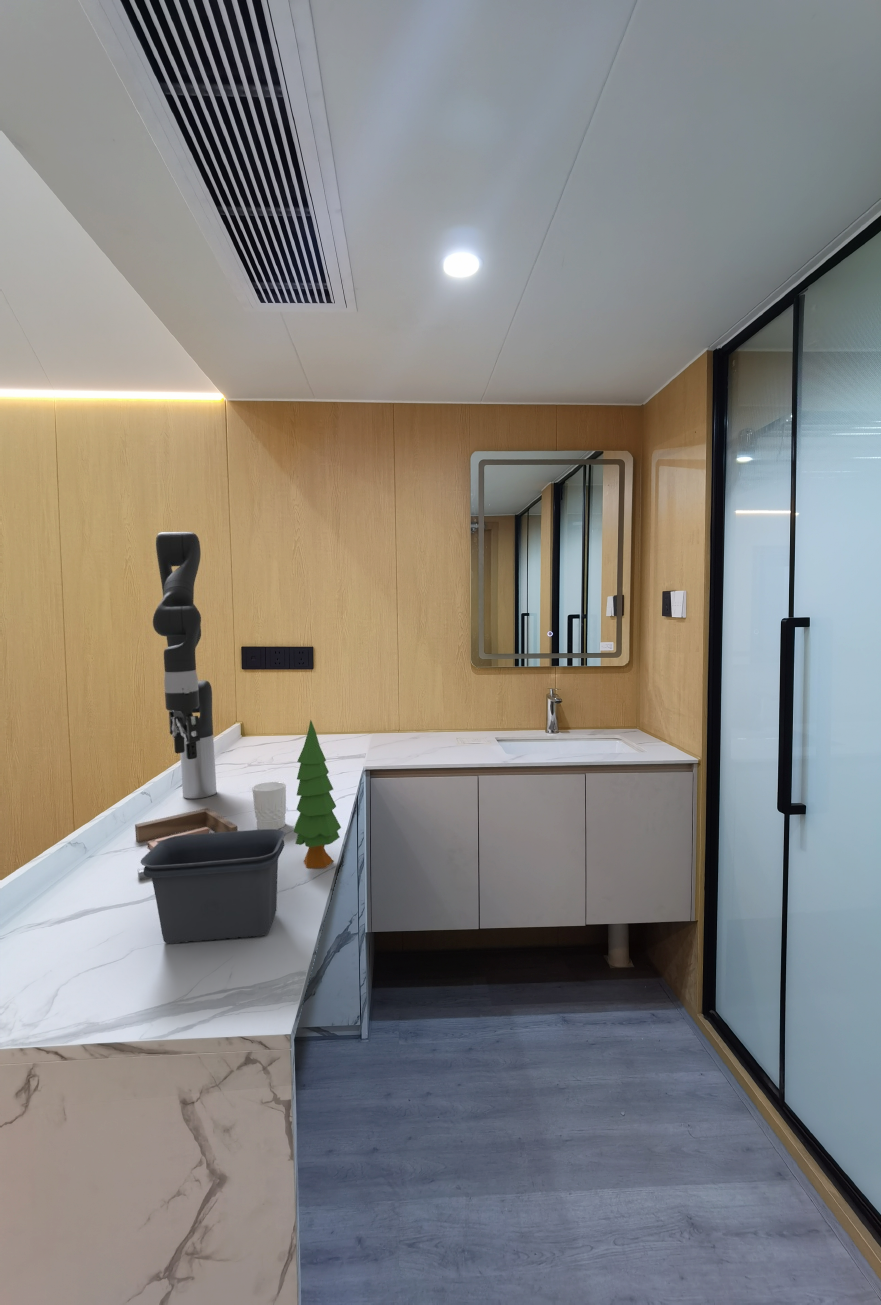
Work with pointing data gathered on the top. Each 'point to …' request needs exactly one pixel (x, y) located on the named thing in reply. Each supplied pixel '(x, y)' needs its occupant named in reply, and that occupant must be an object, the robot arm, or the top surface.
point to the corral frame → (198, 831)
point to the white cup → (270, 805)
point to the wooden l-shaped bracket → (183, 824)
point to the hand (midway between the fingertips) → (185, 755)
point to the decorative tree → (315, 804)
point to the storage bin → (215, 884)
